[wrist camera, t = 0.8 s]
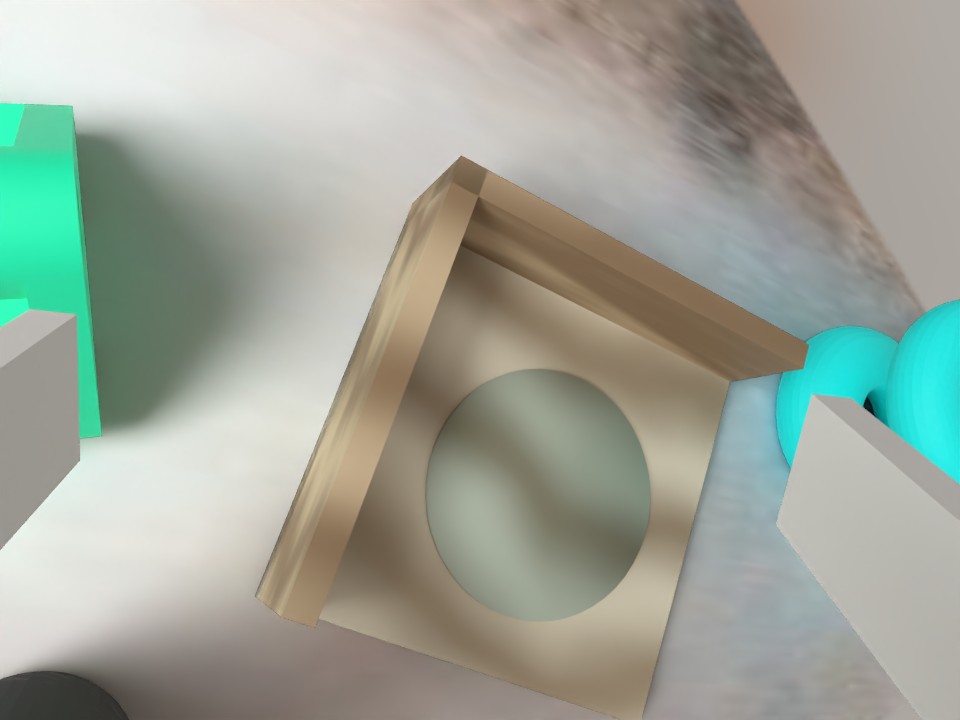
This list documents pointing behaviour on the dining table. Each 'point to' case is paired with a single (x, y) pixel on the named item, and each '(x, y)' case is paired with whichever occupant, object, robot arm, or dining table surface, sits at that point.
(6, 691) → the travel mug
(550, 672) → the corner tray
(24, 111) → the camera mount
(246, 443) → the dining table surface
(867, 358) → the donuts
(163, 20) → the dining table surface
